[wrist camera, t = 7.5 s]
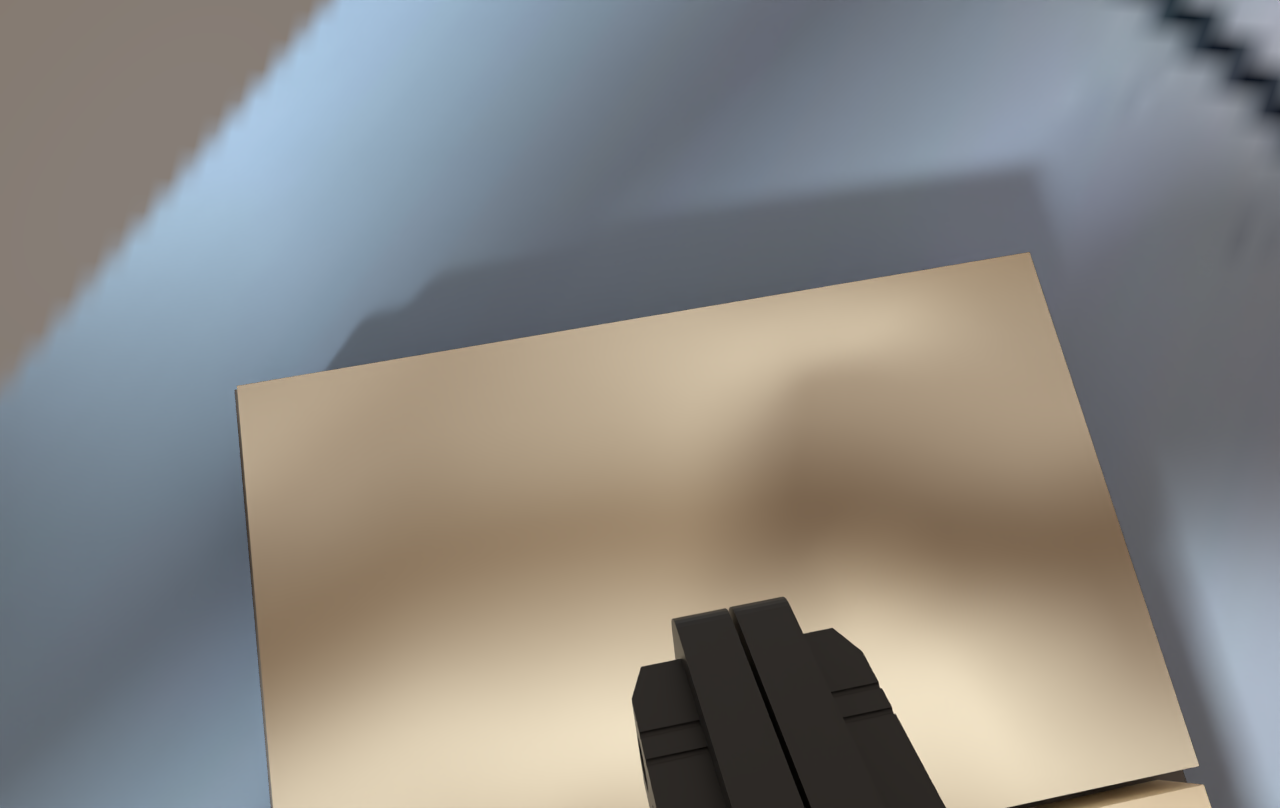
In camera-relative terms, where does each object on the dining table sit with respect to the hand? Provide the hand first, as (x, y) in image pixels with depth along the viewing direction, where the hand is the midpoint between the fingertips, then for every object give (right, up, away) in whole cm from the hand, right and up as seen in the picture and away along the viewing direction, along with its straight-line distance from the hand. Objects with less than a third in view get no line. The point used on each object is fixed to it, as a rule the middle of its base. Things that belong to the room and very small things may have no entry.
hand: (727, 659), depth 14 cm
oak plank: (0, 0, +6) cm, 6 cm away
